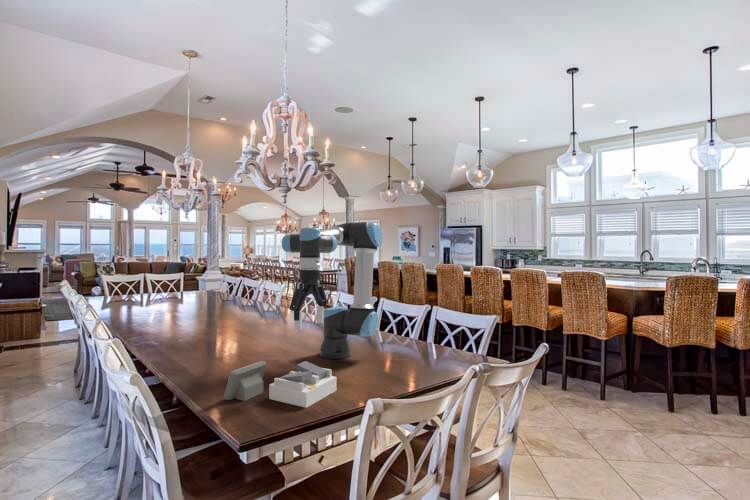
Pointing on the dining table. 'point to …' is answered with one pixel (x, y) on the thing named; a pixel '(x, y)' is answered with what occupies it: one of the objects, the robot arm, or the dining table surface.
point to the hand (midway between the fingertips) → (309, 326)
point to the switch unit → (303, 389)
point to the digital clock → (245, 382)
